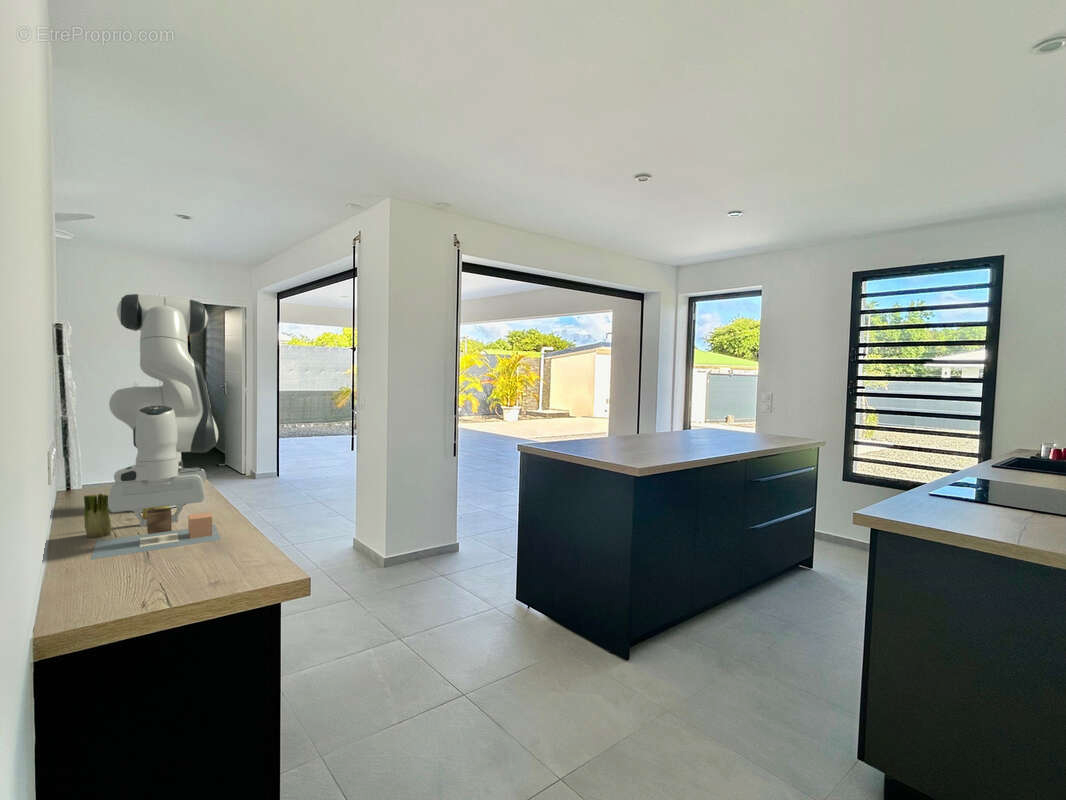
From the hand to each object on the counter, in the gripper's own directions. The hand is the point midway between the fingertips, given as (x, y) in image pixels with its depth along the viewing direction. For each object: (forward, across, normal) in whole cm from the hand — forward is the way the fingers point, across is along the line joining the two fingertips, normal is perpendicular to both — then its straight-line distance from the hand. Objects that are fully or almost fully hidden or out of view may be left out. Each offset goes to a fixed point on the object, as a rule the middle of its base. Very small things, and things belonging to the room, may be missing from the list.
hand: (159, 524), depth 137 cm
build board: (+5, 0, 0) cm, 5 cm away
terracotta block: (+4, -9, 0) cm, 10 cm away
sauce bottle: (+5, 0, -21) cm, 21 cm away
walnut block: (+2, 0, 0) cm, 2 cm away
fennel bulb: (+6, +13, -14) cm, 20 cm away
